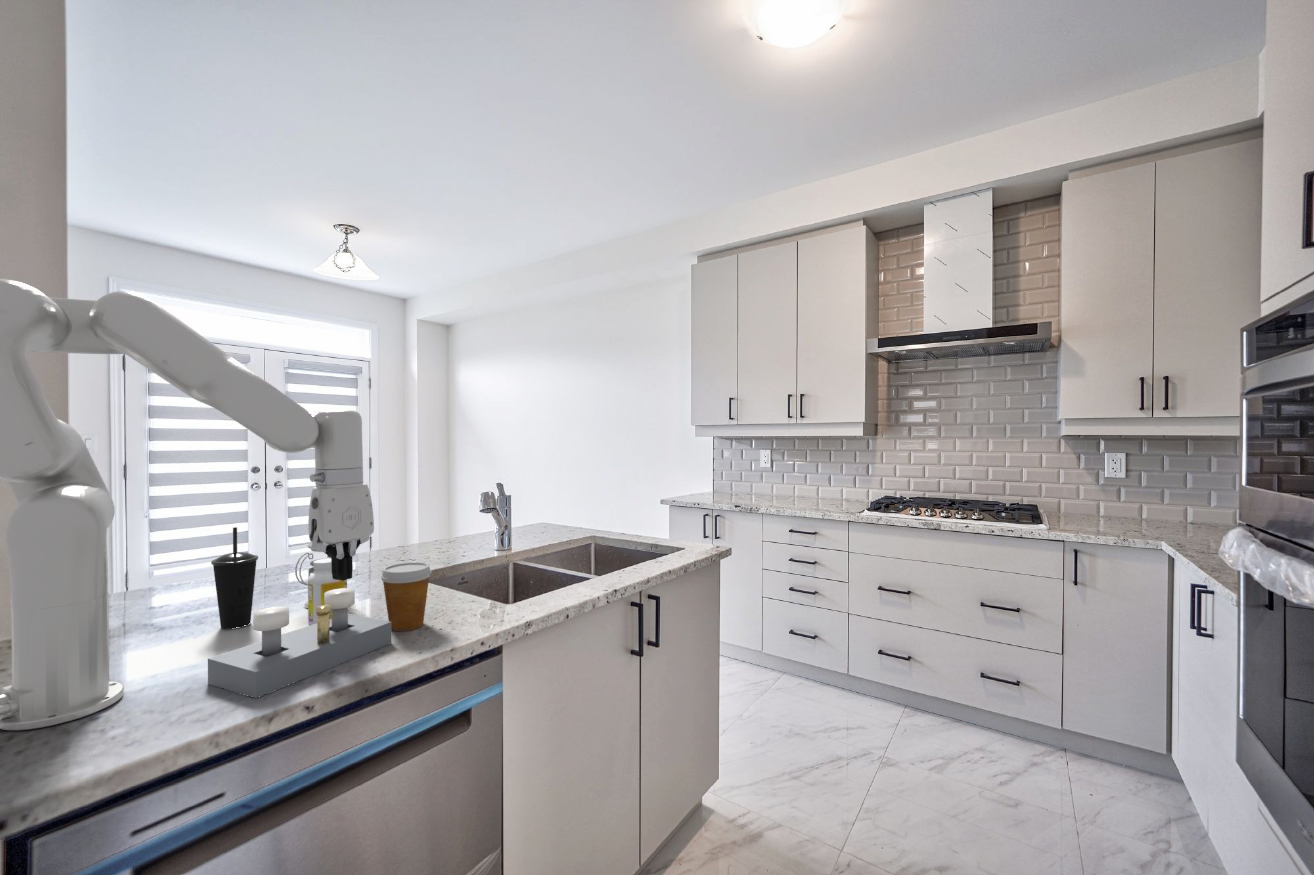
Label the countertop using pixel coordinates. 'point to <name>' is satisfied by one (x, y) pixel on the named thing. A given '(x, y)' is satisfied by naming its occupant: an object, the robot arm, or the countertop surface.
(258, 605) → the countertop surface
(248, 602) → the drinking cup
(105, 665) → the robot arm
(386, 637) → the mount
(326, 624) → the brass post
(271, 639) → the knob near
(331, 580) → the supplement bottle
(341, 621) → the knob far
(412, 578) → the disposable coffee cup
